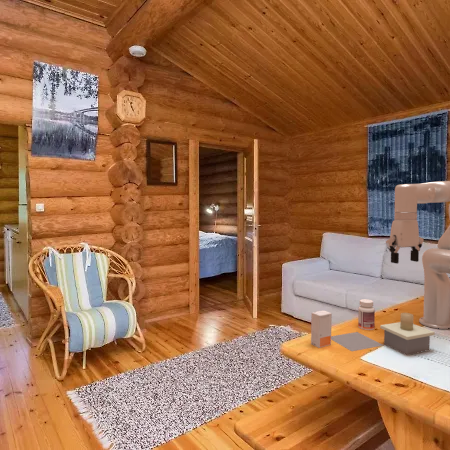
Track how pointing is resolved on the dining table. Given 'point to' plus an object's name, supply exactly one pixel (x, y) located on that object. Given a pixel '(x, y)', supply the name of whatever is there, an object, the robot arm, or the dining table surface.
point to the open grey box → (406, 343)
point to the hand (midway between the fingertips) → (404, 262)
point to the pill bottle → (366, 315)
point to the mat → (355, 341)
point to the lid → (407, 328)
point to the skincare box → (321, 328)
